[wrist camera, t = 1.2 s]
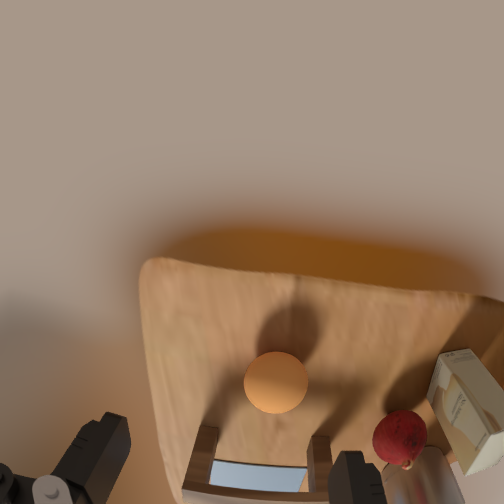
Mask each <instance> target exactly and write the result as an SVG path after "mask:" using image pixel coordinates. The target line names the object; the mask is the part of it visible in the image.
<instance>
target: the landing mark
mask: <svg viewBox="0 0 504 504" xmlns="http://www.w3.org/2000/svg"><path fill="white" fill-rule="evenodd" d="M306 470H307V468H302V467H279V466H264V465H253V464H243V463H235V462H227V461H220V460H214V461H213V466H212V470H211V485H218V486H225V487H233V488H241V489H251V490H263V491H279V492H298V491H299V488H300V486H301V483H302V481H303V478H304V476H305V473H306Z"/></svg>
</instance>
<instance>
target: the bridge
mask: <svg viewBox="0 0 504 504" xmlns="http://www.w3.org/2000/svg"><path fill="white" fill-rule="evenodd" d="M217 435H218V428H213V427H207V426H201V425H200V427H199V431H198V434H197V437H196V441H195V444H194V448H193V451H192V455H191V458H190V462H189V465H188V468H187V472H186V475H185V479H184V482H183V486H182V495H183V501H184V502H185V503H190V504H329V495H328V476H329V473H330V470H331V469H332V467H333V462H332V455H331V448H330V441H329V437H318V436H312V437H311V440H310V443H309V446H308V449H307V467H308V484H309V492H279V491H263V490H251V489H241V488H233V487H225V486H218V485H211V484H209V479H210V475H211V470H212V466H213V461H214V457H215V452H216V448H217Z"/></svg>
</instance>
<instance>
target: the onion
mask: <svg viewBox="0 0 504 504" xmlns="http://www.w3.org/2000/svg"><path fill="white" fill-rule="evenodd" d="M426 440H427V430H426V425H425V422H424V421H423V420H422V418H421V417H420V416H419V415H418V414H417V413H415V412H413V411H408V410H399V411H394V412H392V413H390V414H388V415H387V416H386V417H385V418H383V419H382V420H381V421H380V423H379V424H378V425H377V427H376V428H375V431H374V434H373V439H372V441H373V447H374V450H375V452H376V453H377V455H378V456H379V457H380V458H381V459H382V460H384V461H385V462H388V463H390V464H394V465H402V469H405V470H408V469H410V468H412V466H413V464H414V461H415V459H416V458H417V457H418V456H419V455H420V454H421V452H422V450H423V448H424V446H425V444H426Z"/></svg>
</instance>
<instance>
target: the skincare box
mask: <svg viewBox="0 0 504 504" xmlns="http://www.w3.org/2000/svg"><path fill="white" fill-rule="evenodd" d="M426 397H427V399H428V401H429V403H430V405H431V407H432V409H433V411H434V413H435V415H436V417H437V419H438V421H439V423H440V425H441V427H442V429H443V431H444V433H445V435H446V437H447V439H448V441H449V443H450V445H451V448H452V450H453V452H454V454H455V456H456V458H457V461H458V463H459V465H460V467H461V469H462V472H463V474H464V476H468V475H471V474H473V473H476V472H479V471H481V470H484V469H487V468H489V467H491V466H494V465H496V464H498V463H499V461H500V460H501V458H502V457H503V455H504V391H503V389H502V388H501V387H500V385H499V384H498V383H497V382H496V380H495V379H494V378H493V376H492V375H491V374H490V373H489V371H488V370H487V369H486V368H485V366H484V365H483V364H482V363H481V361H480V360H479V359H478V358H477V356H476V355H475V354H474V353H473V352H472V350H471V349H464V350H458V351H452V352H447V353H442V354H440V355H439V357H438V360H437V363H436V366H435V369H434V372H433V376H432V379H431V382H430V386H429V389H428V393H427V396H426Z"/></svg>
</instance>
